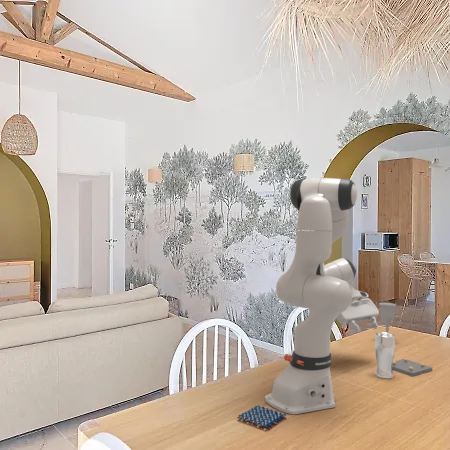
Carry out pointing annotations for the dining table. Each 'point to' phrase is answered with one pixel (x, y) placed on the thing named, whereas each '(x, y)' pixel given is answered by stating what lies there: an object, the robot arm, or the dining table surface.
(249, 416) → the woven mat
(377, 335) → the beer glass
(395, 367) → the coaster
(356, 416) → the dining table surface
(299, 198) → the robot arm
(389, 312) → the chalice
